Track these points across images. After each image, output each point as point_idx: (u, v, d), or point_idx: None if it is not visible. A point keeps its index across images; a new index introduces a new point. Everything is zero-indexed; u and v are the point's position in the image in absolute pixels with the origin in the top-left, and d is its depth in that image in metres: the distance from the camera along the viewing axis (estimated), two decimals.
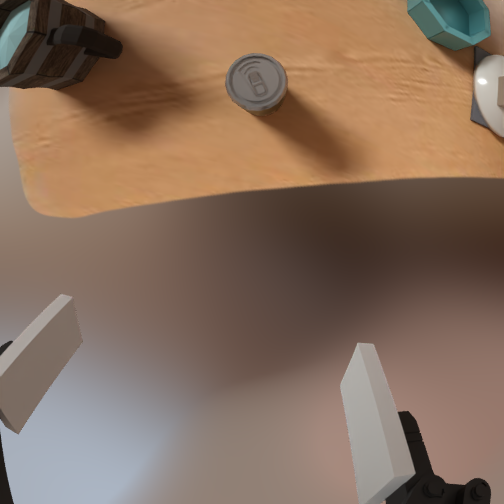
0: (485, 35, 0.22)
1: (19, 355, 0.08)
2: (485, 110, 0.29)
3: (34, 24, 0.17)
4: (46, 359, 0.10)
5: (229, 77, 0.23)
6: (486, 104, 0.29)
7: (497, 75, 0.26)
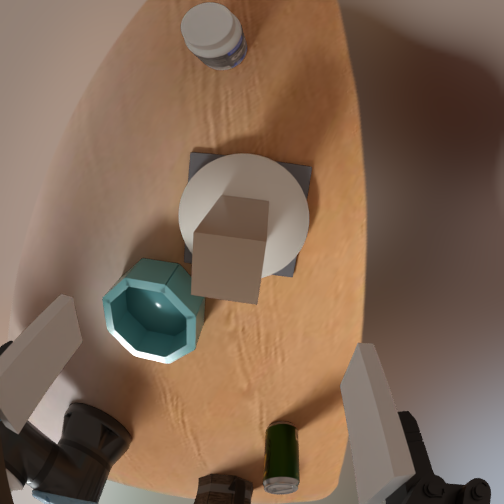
0: (170, 294, 0.30)
1: (19, 355, 0.08)
2: (276, 267, 0.32)
3: None
4: (46, 359, 0.10)
5: (278, 492, 0.35)
6: (267, 265, 0.32)
7: None
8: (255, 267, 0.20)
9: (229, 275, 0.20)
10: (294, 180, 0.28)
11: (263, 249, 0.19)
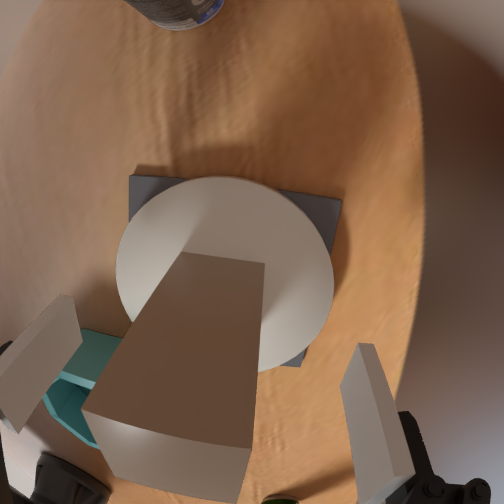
0: None
1: (19, 355, 0.08)
2: (276, 360, 0.19)
3: None
4: (46, 359, 0.10)
5: None
6: (262, 358, 0.19)
7: None
8: (228, 475, 0.07)
9: (175, 475, 0.07)
10: (311, 227, 0.16)
11: (244, 457, 0.07)
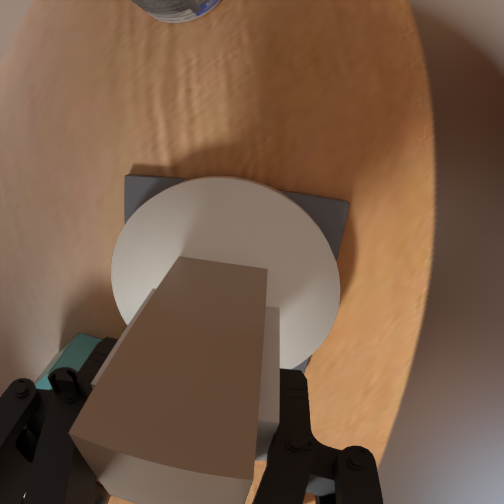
0: None
1: None
2: None
3: None
4: None
5: None
6: None
7: None
8: (227, 501, 0.06)
9: (171, 499, 0.07)
10: (317, 231, 0.15)
11: (245, 487, 0.06)
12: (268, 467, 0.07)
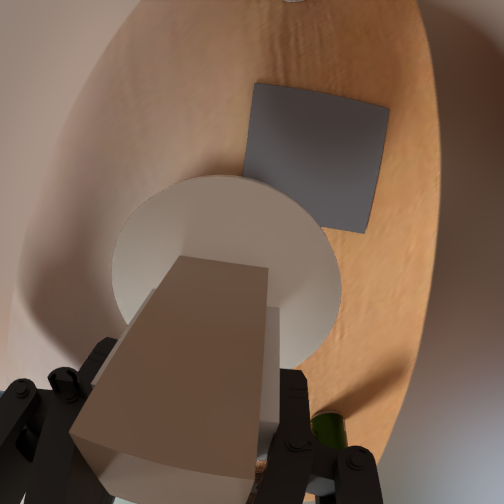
0: None
1: None
2: None
3: None
4: None
5: None
6: None
7: None
8: (228, 501, 0.06)
9: (171, 499, 0.06)
10: (318, 230, 0.15)
11: (246, 487, 0.06)
12: (268, 467, 0.07)
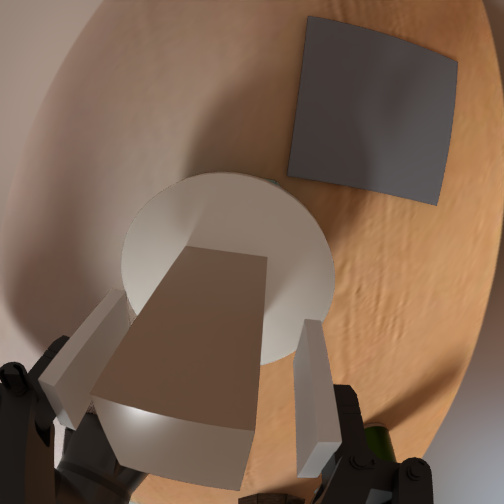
0: None
1: (81, 349, 0.10)
2: (278, 353, 0.20)
3: None
4: (102, 352, 0.11)
5: None
6: (264, 351, 0.20)
7: None
8: (231, 460, 0.08)
9: (179, 461, 0.08)
10: (312, 222, 0.16)
11: (248, 440, 0.07)
12: (331, 483, 0.06)
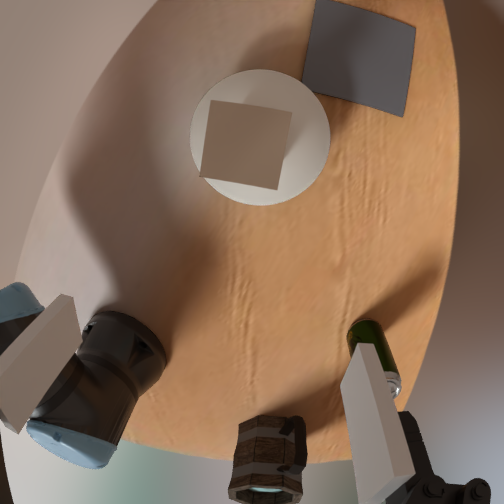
0: None
1: (19, 355, 0.08)
2: (293, 192, 0.28)
3: (276, 486, 0.37)
4: (46, 359, 0.10)
5: None
6: (283, 189, 0.28)
7: None
8: (277, 142, 0.16)
9: (246, 151, 0.17)
10: (315, 98, 0.25)
11: (288, 120, 0.16)
12: None
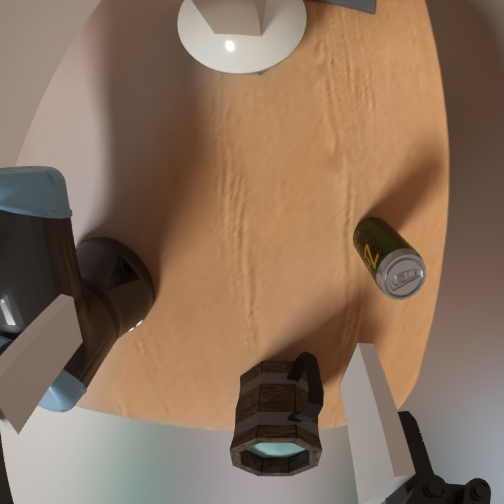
0: None
1: (19, 355, 0.08)
2: (276, 58, 0.25)
3: (289, 438, 0.33)
4: (46, 359, 0.10)
5: (396, 296, 0.28)
6: (266, 56, 0.25)
7: (213, 35, 0.25)
8: None
9: None
10: None
11: None
12: None
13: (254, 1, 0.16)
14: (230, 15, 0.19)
